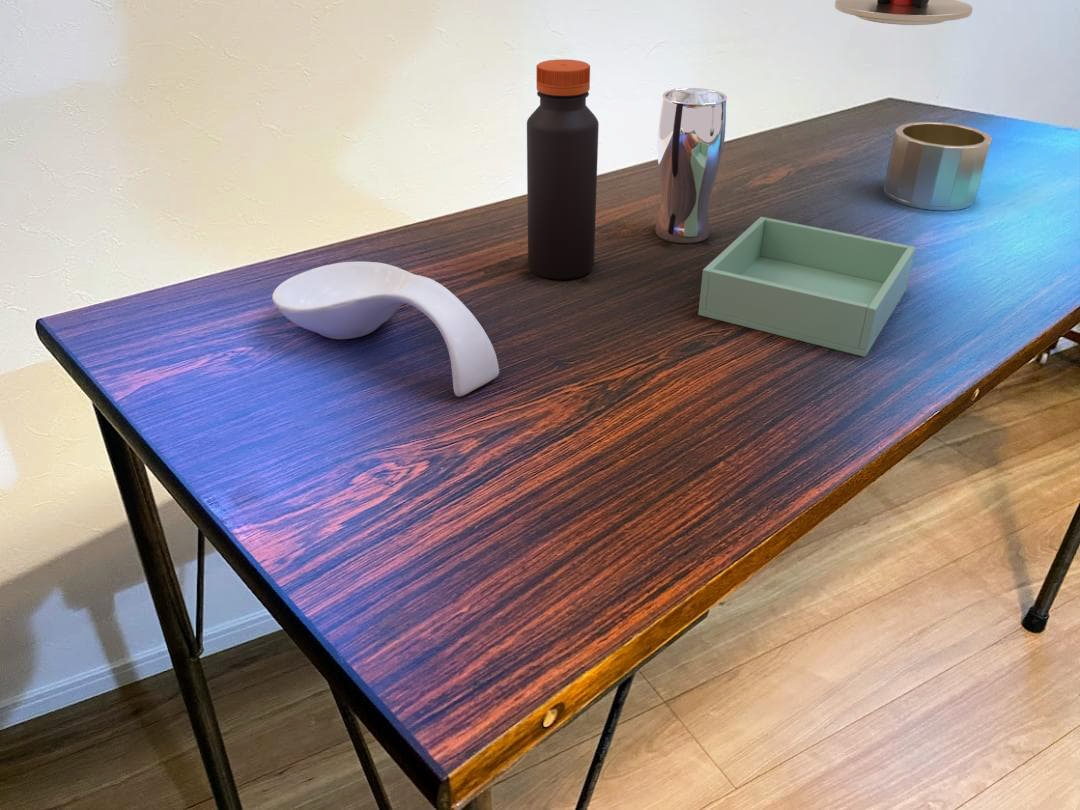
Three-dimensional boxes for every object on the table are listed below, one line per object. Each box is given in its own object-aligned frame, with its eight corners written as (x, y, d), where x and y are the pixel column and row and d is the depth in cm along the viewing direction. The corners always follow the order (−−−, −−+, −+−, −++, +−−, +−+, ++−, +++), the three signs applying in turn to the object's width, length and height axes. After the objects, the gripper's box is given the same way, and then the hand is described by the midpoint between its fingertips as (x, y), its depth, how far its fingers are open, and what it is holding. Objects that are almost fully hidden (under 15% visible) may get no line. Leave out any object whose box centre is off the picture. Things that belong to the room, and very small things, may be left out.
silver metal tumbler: (711, 222, 104) (726, 88, 96) (715, 246, 98) (731, 105, 90) (650, 220, 104) (660, 86, 96) (651, 244, 98) (661, 103, 90)
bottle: (606, 265, 94) (615, 63, 83) (566, 287, 89) (569, 77, 78) (555, 249, 97) (557, 53, 86) (514, 269, 93) (510, 66, 82)
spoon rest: (252, 325, 83) (238, 252, 79) (354, 284, 90) (345, 215, 86) (430, 420, 69) (423, 338, 66) (532, 362, 77) (531, 285, 73)
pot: (981, 190, 113) (998, 129, 109) (966, 216, 105) (983, 153, 101) (894, 175, 117) (907, 117, 113) (874, 200, 110) (886, 138, 106)
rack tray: (905, 290, 89) (916, 246, 86) (865, 357, 78) (876, 309, 75) (755, 257, 95) (760, 216, 93) (697, 315, 84) (702, 269, 82)
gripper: (1072, -252, 70) (1006, 5, 80) (862, -245, 77) (826, -10, 87) (1061, -258, 65) (991, 18, 74) (836, -250, 72) (800, 1, 82)
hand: (903, 1), depth 81 cm, fingers closed on lid, 2 cm apart
